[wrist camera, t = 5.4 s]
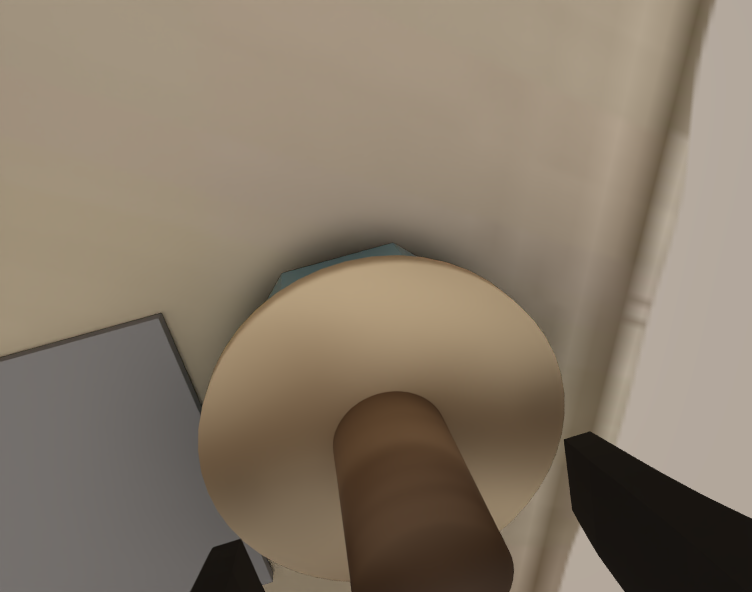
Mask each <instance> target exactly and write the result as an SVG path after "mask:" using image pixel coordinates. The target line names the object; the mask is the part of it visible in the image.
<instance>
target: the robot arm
mask: <svg viewBox="0 0 752 592" xmlns="http://www.w3.org/2000/svg"><path fill="white" fill-rule="evenodd" d="M564 445H565V453H566V462H567V470H568V479H569V487H570V495H571V504H572V511H573V512H574V514H575V516H576V518H577V519H578V521H579V523H580V525H581V527H582V528H583V530H584V532H585V534H586V535H587V537H588V539H589V541H590V542H591V544H592V546H593V547H594V549H595V551H596V552H597V554H598V556H599V557H600V558H601V560H602V561H603V563H604V564H605V565H606V567H607V568H608V569H609V571H610V572H611V574H612V575H613V576H614V578H615V579H616V580H617V582H618V583H619V585H620V586H621V587H622V589H623V590H624V591H625V592H752V518H749V517H747V516H745V515H743V514H741V513H739V512H737V511H735V510H733V509H731V508H728V507H726V506H724V505H722V504H720V503H718V502H716V501H714V500H712V499H710V498H708V497H706V496H704V495H702V494H700V493H698V492H696V491H694V490H692V489H691V488H689V487H687V486H685V485H683V484H681V483H679V482H677V481H676V480H674V479H672V478H670V477H668V476H666V475H665V474H663V473H661V472H659V471H658V470H656V469H654V468H652V467H650V466H649V465H647V464H645V463H643V462H642V461H640V460H638V459H636V458H635V457H633V456H631V455H630V454H628V453H626V452H625V451H623V450H621V449H619V448H618V447H616V446H614V445H613V444H611V443H609V442H607V441H606V440H604V439H602V438H601V437H599V436H597V435H595V434H594V433H592V432H587V433H583V434H580V435H577V436H574V437H570V438H567V439H564ZM190 592H265V591H264V588H263V586H262V584H261V582H260V580H259V577H258V575H257V573H256V571H255V568H254V566H253V564H252V562H251V559H250V557H249V555H248V553H247V550H246V548H245V546H244V544H243V541H242V539H238V540H235V541H231V542H228V543H225V544H222V545H218V546H215V547H213V548H212V549H211V551H210V553H209V554H208V556H207V558H206V560H205V562H204V564H203V566H202V568H201V571H200V573H199V575H198V577H197V579H196V581H195V583H194V585H193V587H192V589H191V591H190Z"/></svg>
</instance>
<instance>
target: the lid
mask: <svg viewBox="0 0 752 592" xmlns="http://www.w3.org/2000/svg"><path fill="white" fill-rule="evenodd" d="M563 420H564V389H563V383H562V377H561V373H560V369H559V366H558V363H557V360H556V357H555V354H554V352H553V350H552V348H551V346H550V344H549V342H548V341H547V339H546V337H545V335H544V334H543V333H542V331H541V330H540V328H539V327H538V326H537V324H536V323H535V321H534V320H533V319H532V318H531V317H530V316H529V315H528V314H527V313H526V312H525V311H524V310H523V309H522V308H521V307H520V306H519V305H518V304H517V303H516V302H515V301H513V300H512V299H511V298H510V297H509V296H508V295H506V294H505V293H504V292H503V291H501V290H500V289H499V288H497V287H496V286H495V285H493V284H492V283H490V282H489V281H488V280H486V279H484V278H482V277H480V276H478V275H476V274H475V273H473V272H471V271H469V270H466V269H464V268H461V267H458V266H455V265H453V264H450V263H447V262H443V261H439V260H434V259H429V258H424V257H415V256H402V255H391V256H372V257H366V258H361V259H355V260H350V261H345V262H342V263H339V264H336V265H332V266H329V267H326V268H323V269H320V270H318V271H316V272H314V273H312V274H309V275H307V276H305V277H303V278H301V279H298V280H297V281H295V282H293V283H292V284H290V285H289V286H287V287H285V288H284V289H282V290H281V291H279V292H277V293H276V294H274V295H273V296H272V297H271V298H270V299H268V300H267V301H266V302H265V303H263V304H262V305H261V306H260V307H259V308H257V309H256V310H255V311H254V312H253V313H252V314H251V315H250V316H249V318H248V319H247V320H246V321H245V322H244V323H243V324H242V325H241V326H240V327H239V328H238V330H237V331H236V333H235V334H234V335H233V337H232V338H231V340H230V341H229V342H228V344H227V345H226V347H225V348H224V350H223V352H222V354H221V356H220V358H219V360H218V362H217V364H216V366H215V368H214V371H213V373H212V376H211V379H210V382H209V385H208V388H207V392H206V395H205V399H204V402H203V406H202V411H201V417H200V422H199V428H198V454H199V461H200V467H201V473H202V476H203V479H204V482H205V485H206V488H207V491H208V494H209V496H210V497H211V499H212V501H213V503H214V505H215V507H216V509H217V511H218V512H219V514H220V515H221V516H222V518H223V519H224V520H225V522H226V523H227V525H228V526H229V527H230V528H231V529H232V530H233V531H234V532H235V533H236V534H237V535H238V536H239V537H240V538H241V539H242V540H243V541H244V542H245V543H246V544H248V545H249V546H250V547H252V548H253V549H254V550H255V551H257V552H258V553H259V554H261V555H263V556H265V557H266V558H268V559H270V560H272V561H273V562H275V563H277V564H279V565H281V566H284V567H286V568H289V569H291V570H293V571H296V572H299V573H303V574H306V575H310V576H313V577H317V578H323V579H329V580H335V581H348V582H350V583H351V590H352V592H509V591H510V589H511V585H512V582H513V575H514V567H513V561H512V557H511V554H510V552H509V550H508V548H507V546H506V544H505V542H504V540H503V538H502V536H501V534H500V531H501V530H502V529H503V528H504V527H506V526H507V525H508V524H509V523H510V522H511V521H512V520H513V519H514V518H515V517H516V516H517V515H518V514H519V513H520V512H521V511H522V509H523V508H524V507H525V506H526V505H527V504H528V502H529V501H530V500H531V498H532V497H533V496H534V494H535V493H536V491H537V490H538V489H539V487H540V485H541V484H542V482H543V480H544V478H545V477H546V475H547V473H548V471H549V469H550V467H551V464H552V462H553V459H554V457H555V455H556V452H557V449H558V445H559V441H560V438H561V434H562V428H563Z"/></svg>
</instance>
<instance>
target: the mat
mask: <svg viewBox="0 0 752 592" xmlns="http://www.w3.org/2000/svg"><path fill="white" fill-rule="evenodd" d="M201 411H202V407H201V404H200V402H199V400H198V397H197V395H196V393H195V390H194V388H193V386H192V383H191V381H190V379H189V376H188V374H187V372H186V369H185V367H184V365H183V362H182V360H181V358H180V355H179V353H178V351H177V348H176V346H175V344H174V341H173V339H172V337H171V335H170V332H169V330H168V328H167V325H166V323H165V321H164V318H163V316H162V314H161V313H160V314H157V315H153V316H149V317H146V318H142V319H138V320H135V321H131V322H128V323H124V324H120V325H117V326H113V327H109V328H106V329H102V330H99V331H95V332H91V333H88V334H84V335H80V336H77V337H73V338H70V339H66V340H62V341H59V342H55V343H51V344H48V345H44V346H41V347H37V348H33V349H30V350H26V351H22V352H19V353H15V354H12V355H8V356H4V357H1V358H0V592H190V591H191V589H192V587H193V585H194V583H195V581H196V579H197V577H198V575H199V573H200V571H201V568H202V566H203V564H204V562H205V560H206V558H207V556H208V554H209V553H210V551H211V549H212V548H213V547H215V546H218V545H222V544H225V543H228V542H231V541H235V540H238V539H241V538H240V537H239V536H238V535H237V534H236V533H235V532H234V531H233V530H232V529H231V528H230V527H229V526H228V525H227V523H226V522H225V520H224V519H223V518H222V516H221V515H220V514H219V512H218V511H217V509H216V507H215V505H214V503H213V501H212V499H211V497H210V496H209V494H208V491H207V488H206V485H205V482H204V479H203V476H202V473H201V467H200V461H199V454H198V428H199V422H200V417H201ZM242 541H243V540H242ZM243 544H244V546H245V548H246V550H247V553H248V555H249V557H250V559H251V562H252V564H253V566H254V568H255V571H256V573H257V575H258V577H259V580H260V582H261V584H262V585H264V584H268V583H271V582H273V572H272V569H271V567H270V565H269V562H268V560H267V558H266V557H265V556H263V555H261V554H259V553H258V552H257V551H255V550H254V549H253V548H252V547H250V546H249V545H248V544H246V543H245V542H244V541H243Z"/></svg>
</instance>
